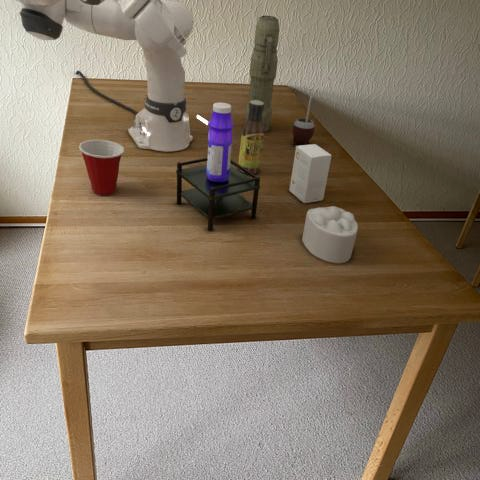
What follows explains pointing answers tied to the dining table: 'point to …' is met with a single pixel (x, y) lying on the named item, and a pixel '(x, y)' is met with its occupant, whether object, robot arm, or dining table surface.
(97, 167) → the plastic cup
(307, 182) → the small box
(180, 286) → the dining table surface
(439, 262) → the dining table surface
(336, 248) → the lumpy-topped squat cylinder
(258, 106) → the sauce bottle
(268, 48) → the stone statue
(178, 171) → the tray
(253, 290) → the dining table surface
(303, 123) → the mate gourd
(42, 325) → the dining table surface
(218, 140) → the bottle
